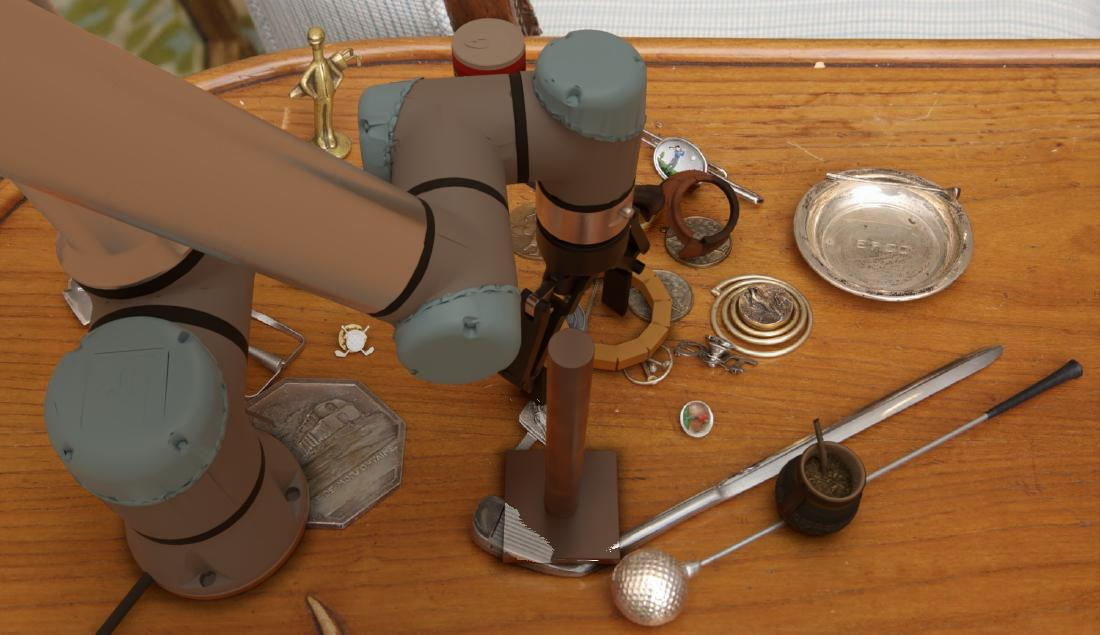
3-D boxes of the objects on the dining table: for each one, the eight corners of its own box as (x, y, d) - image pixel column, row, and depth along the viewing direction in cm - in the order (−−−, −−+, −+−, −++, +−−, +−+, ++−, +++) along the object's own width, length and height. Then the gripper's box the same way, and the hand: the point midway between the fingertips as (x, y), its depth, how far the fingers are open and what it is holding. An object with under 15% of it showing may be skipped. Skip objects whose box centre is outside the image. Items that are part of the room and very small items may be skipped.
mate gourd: (802, 561, 79) (834, 520, 71) (749, 489, 83) (773, 443, 74) (866, 520, 81) (904, 476, 73) (811, 452, 85) (841, 403, 76)
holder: (503, 563, 79) (488, 418, 55) (506, 455, 84) (495, 281, 61) (619, 564, 79) (654, 420, 55) (615, 457, 84) (646, 283, 61)
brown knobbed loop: (716, 187, 103) (750, 169, 95) (709, 270, 101) (744, 259, 94) (614, 170, 100) (641, 150, 92) (606, 255, 99) (633, 243, 91)
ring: (620, 392, 88) (621, 383, 86) (518, 323, 92) (518, 313, 90) (693, 307, 93) (695, 297, 92) (594, 245, 97) (595, 234, 96)
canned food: (451, 99, 109) (443, 25, 99) (515, 86, 110) (513, 11, 101) (467, 145, 105) (460, 72, 95) (534, 131, 106) (534, 57, 97)
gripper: (521, 341, 66) (525, 462, 84) (709, 143, 76) (676, 289, 94) (443, 287, 68) (463, 416, 86) (635, 103, 79) (617, 252, 97)
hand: (574, 350), depth 90 cm, fingers open, 12 cm apart
